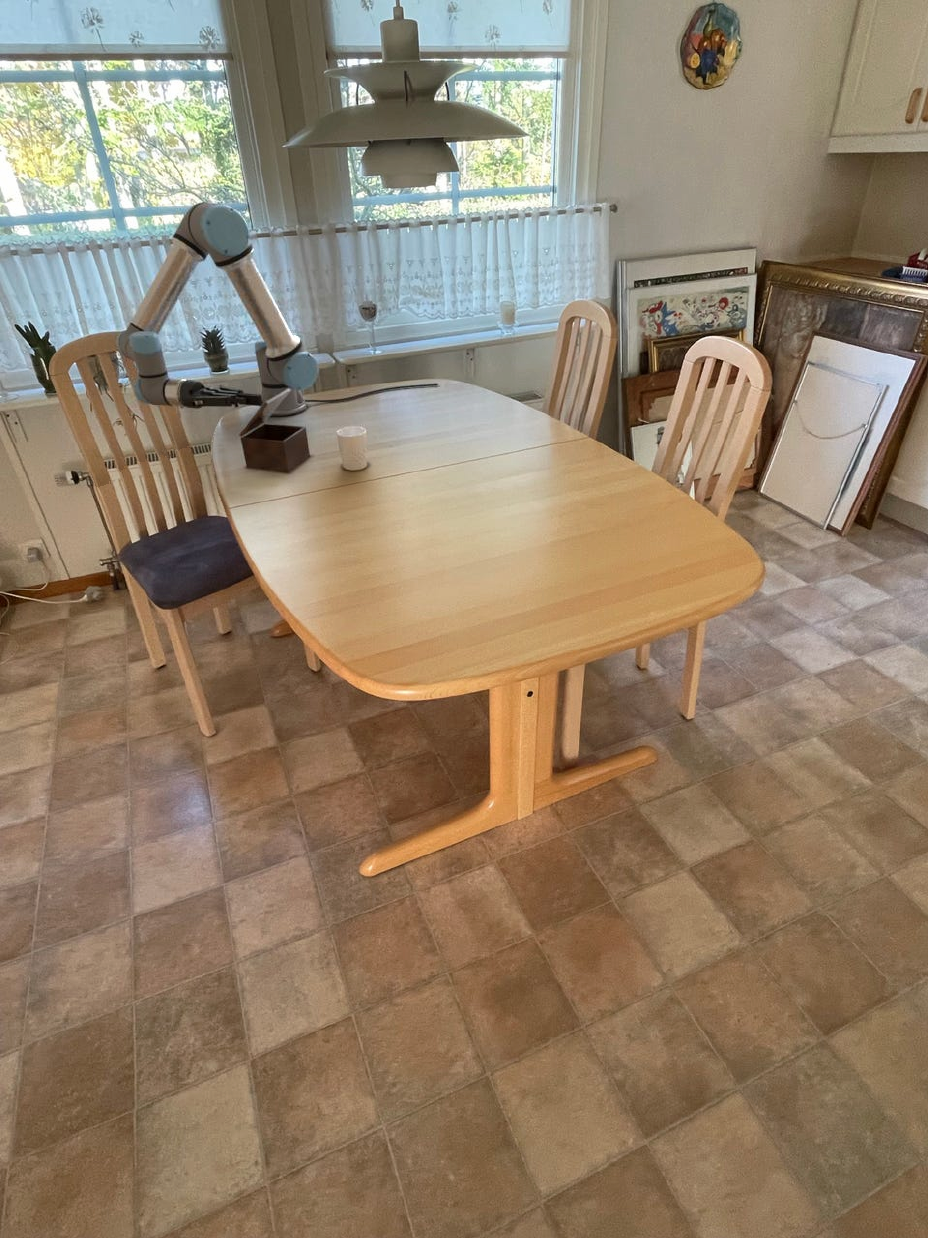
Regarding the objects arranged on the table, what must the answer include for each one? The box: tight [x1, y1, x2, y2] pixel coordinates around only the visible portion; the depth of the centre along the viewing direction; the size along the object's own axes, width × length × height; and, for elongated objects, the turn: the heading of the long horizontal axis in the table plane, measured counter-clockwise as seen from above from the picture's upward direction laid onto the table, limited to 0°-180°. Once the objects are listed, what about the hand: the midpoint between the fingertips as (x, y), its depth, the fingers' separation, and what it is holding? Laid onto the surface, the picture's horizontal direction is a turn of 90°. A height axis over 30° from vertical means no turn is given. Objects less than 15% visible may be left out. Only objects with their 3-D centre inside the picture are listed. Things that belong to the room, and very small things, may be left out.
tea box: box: [240, 422, 311, 473], centre depth 196 cm, size 13×12×9 cm
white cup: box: [336, 425, 368, 471], centre depth 192 cm, size 8×8×10 cm
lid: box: [238, 389, 291, 438], centre depth 190 cm, size 14×12×1 cm
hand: (260, 400), depth 189 cm, fingers closed
